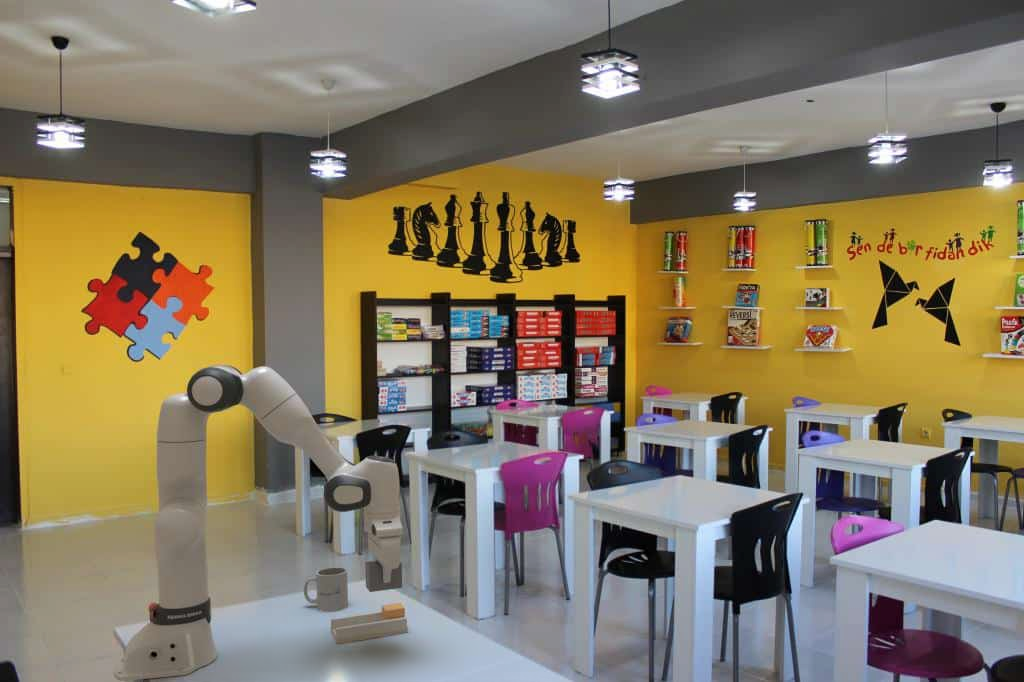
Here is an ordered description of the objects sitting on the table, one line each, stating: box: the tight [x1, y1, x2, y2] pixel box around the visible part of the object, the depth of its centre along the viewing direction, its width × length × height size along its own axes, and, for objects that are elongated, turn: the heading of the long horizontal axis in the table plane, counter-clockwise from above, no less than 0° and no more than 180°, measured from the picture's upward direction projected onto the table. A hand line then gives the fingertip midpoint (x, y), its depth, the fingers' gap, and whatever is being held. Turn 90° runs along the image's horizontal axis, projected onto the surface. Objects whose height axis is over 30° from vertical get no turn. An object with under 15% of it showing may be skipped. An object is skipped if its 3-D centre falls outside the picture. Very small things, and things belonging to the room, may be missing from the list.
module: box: [364, 560, 403, 593], centre depth 199 cm, size 8×5×6 cm, turn 111°
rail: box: [330, 602, 409, 645], centre depth 210 cm, size 18×10×6 cm, turn 111°
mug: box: [303, 566, 349, 613], centre depth 232 cm, size 12×9×10 cm
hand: (383, 578), depth 199 cm, fingers closed on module, 5 cm apart
